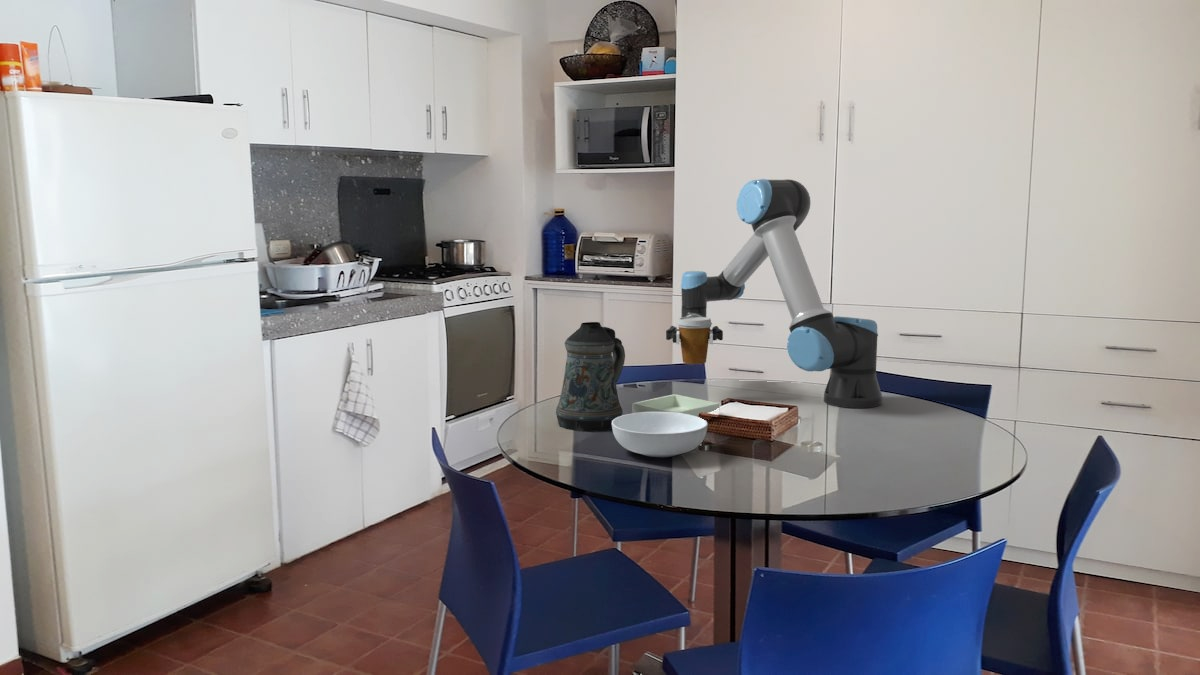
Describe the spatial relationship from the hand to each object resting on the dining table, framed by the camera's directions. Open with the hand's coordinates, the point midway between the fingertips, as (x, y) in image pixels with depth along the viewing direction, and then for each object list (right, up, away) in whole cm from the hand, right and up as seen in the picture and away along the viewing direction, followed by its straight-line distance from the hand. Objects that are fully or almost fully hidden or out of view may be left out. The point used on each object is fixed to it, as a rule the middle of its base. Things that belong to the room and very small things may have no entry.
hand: (694, 339), depth 237 cm
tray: (-6, -20, -10) cm, 23 cm away
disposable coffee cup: (+1, -6, +6) cm, 9 cm away
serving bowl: (-12, -25, -42) cm, 50 cm away
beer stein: (-27, -21, -15) cm, 37 cm away
